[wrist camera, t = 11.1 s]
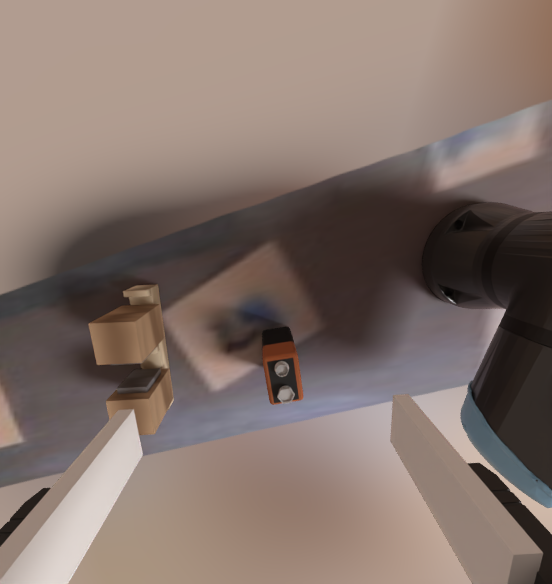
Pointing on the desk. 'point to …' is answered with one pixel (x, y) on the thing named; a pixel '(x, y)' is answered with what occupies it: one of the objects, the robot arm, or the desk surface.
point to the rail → (145, 376)
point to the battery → (281, 366)
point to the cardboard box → (127, 334)
